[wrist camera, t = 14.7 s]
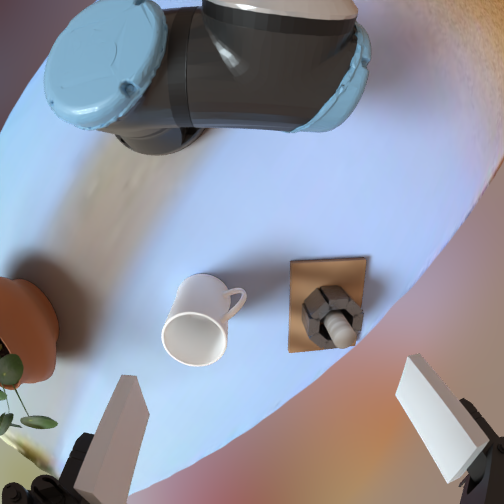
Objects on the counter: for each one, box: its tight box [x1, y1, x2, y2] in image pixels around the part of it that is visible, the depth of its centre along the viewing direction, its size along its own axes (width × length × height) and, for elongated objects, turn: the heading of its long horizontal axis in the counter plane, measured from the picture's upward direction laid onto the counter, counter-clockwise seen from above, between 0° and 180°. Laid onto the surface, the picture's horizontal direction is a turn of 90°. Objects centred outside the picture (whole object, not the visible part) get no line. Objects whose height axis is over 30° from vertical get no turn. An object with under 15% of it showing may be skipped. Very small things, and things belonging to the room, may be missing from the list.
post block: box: [288, 257, 366, 353], centre depth 42 cm, size 16×12×10 cm
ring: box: [301, 285, 364, 349], centre depth 43 cm, size 8×8×5 cm
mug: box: [162, 274, 247, 366], centre depth 39 cm, size 12×8×12 cm
